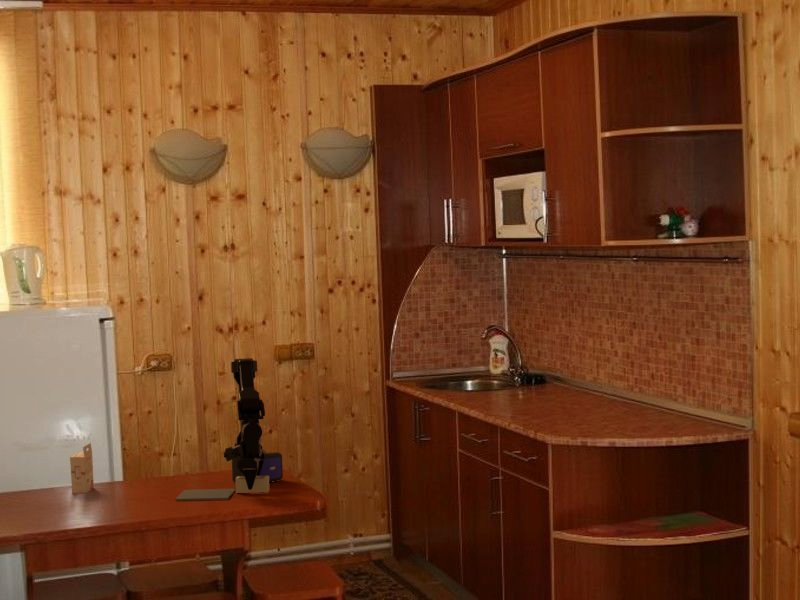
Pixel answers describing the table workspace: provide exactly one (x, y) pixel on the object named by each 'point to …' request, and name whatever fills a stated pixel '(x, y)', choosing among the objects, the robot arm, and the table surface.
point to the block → (259, 485)
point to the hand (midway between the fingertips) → (252, 486)
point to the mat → (205, 494)
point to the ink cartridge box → (82, 471)
